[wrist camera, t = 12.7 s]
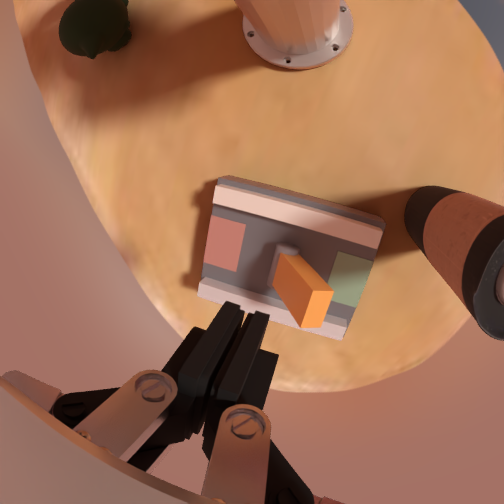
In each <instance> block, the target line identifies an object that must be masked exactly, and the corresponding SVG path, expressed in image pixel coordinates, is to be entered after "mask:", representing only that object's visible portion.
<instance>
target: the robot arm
mask: <svg viewBox="0 0 504 504" xmlns="http://www.w3.org/2000/svg"><path fill="white" fill-rule="evenodd" d="M234 1H235V3H236V4H237V5H238V7H239V8H240V9H241V11H242V12H243V14H244V15H243V21H242V26H243V33H244V36H245V39H246V40H247V42H248V44H249V45H250V47H251V48H252V49H253V50H254V52H255V53H257V54H258V55H259V56H260V57H261V58H263V59H264V60H266V61H268V62H269V63H271V64H274V65H276V66H279V67H283V68H288V69H300V70H301V69H312V68H315V67H319V66H322V65H325V64H327V63H329V62H331V61H333V60H334V59H336V58H337V57H338V56H340V55H341V54H342V52H343V51H344V50H345V49H346V48H347V46H348V44H349V43H350V40H351V37H352V34H353V17H352V14H351V11H350V9H349V7H348V6H347V4H346V2H345V1H344V0H234ZM341 11H344V12H341ZM252 35H254V36H253V37H251V36H252ZM334 48H336V49H337V51H334V50H333V49H334ZM287 61H291V62H290V63H286V62H287ZM240 307H241V306H240V305H238V304H235V303H232V302H229V301H225V303H224V304H223V306H222V307H221V309H220V310H219V312H218V313H217V315H216V316H215V318H214V319H213V321H212V322H211V324H210V325H209V327H208V328H207V330H204V329H201V328H198V327H196V326H195V327H193V328H192V330H191V331H190V332H189V334H188V335H187V336H186V338H185V339H184V340H183V342H182V343H181V345H180V346H179V347H178V349H177V350H176V351H175V353H174V354H173V356H172V357H171V358H170V360H169V361H168V362H167V364H166V365H165V367H164V368H163V369H162V371H158V370H145V371H142V372H139V373H137V374H136V375H134V376H133V377H132V378H131V379H130V380H129V381H127V382H126V383H125V384H124V385H123V386H122V387H119V388H111V389H103V390H94V391H86V392H75V393H69V394H63V393H62V392H61V390H60V389H58V388H55V387H53V386H50V385H48V384H46V383H44V382H41V381H39V380H37V379H35V378H32V377H30V376H28V375H26V374H24V373H22V372H19V371H9V372H6V373H5V374H4V375H3V376H0V504H345V503H342V502H339V501H336V500H333V499H331V498H328V497H325V496H324V497H323V498H321V497H318V496H316V495H313V494H312V492H311V491H310V489H309V488H308V487H307V486H306V484H305V483H304V482H303V481H302V479H301V478H300V477H299V476H298V474H297V473H296V472H295V471H294V469H293V468H292V467H291V465H290V464H289V463H288V461H287V460H286V459H285V458H284V456H283V455H282V454H281V452H280V451H279V450H278V448H277V447H276V446H275V444H274V443H273V442H272V440H271V439H270V437H271V436H270V435H271V422H270V420H269V418H268V416H267V415H266V414H265V413H264V412H263V411H262V410H263V407H264V404H265V400H266V397H267V394H268V391H269V387H270V384H271V381H272V377H273V374H274V371H275V367H276V364H277V360H278V357H279V355H278V354H275V353H271V352H268V351H265V350H262V349H260V346H261V343H262V340H263V337H264V334H265V330H266V327H267V324H268V321H269V317H270V315H269V314H266V313H263V312H260V311H257V310H256V311H255V313H254V314H253V313H250V312H249V313H248V315H247V317H246V319H245V321H244V323H243V325H242V321H243V317H244V313H245V311H244V310H241V309H240ZM241 325H242V327H241ZM204 422H205V424H204ZM203 424H204V429H203V434H202V436H203V437H204V440H203V445H202V449H203V451H204V453H205V455H206V457H207V458H208V460H209V463H208V467H207V471H206V475H205V480H204V484H203V488H202V492H201V495H198V494H195V493H193V492H190V491H187V490H185V489H182V488H180V487H178V486H175V485H172V484H170V483H168V482H166V481H164V480H161V479H159V478H157V477H155V476H152V475H150V474H151V472H152V471H153V470H154V469H155V468H156V467H157V466H158V464H159V463H160V462H161V461H162V460H163V458H164V457H165V456H166V455H167V454H168V452H169V451H170V450H171V448H172V447H173V445H174V443H178V442H182V441H184V440H185V438H186V439H188V440H189V439H190V437H191V435H192V433H195V434H198V433H199V432H200V430H201V428H202V426H203Z"/></svg>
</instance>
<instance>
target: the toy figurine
mask: <svg viewBox="0 0 504 504" xmlns="http://www.w3.org/2000/svg"><path fill="white" fill-rule="evenodd" d="M128 2H129V1H128V0H75V1H74V2H73V3H72V4H71V5H70V6H69V7H68V8H67V9H66V11H65V12H64V14H63V16H62V18H61V21H60V25H59V37H60V41H61V43H62V45H63V46H64V47H65V48H66V49H67V50H68V51H69V52H71V53H73V54H75V55H79V56H87V57H88V58H91V59H94V58H95V57H96V56H97V54H100V53H102V52H105V51H107V50H108V51H111V52H113V51H117V50H119V49H120V48H121V47H123V46H124V45H125V44H126V43H128V41H129V40H130V39H131V31H130V30H129V29H128V28H129V26H130V22H129V20H128V11H127V8H126V7H127V5H128Z"/></svg>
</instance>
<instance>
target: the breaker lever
mask: <svg viewBox="0 0 504 504" xmlns="http://www.w3.org/2000/svg"><path fill="white" fill-rule="evenodd" d="M299 252H300V248H299V247H297V246H295V245H293V244H290V243H285V242H279V243H277V245H276V249H275V253H274V257H273V261H272V265H271V269H270V273H269V277H268V280H267V285H268V286H269V287H270V288H272V289H274V290H276V292H277V293H278V295H279V296H280V298H281V299H282V301H283V302H284V304H285V305H286V307H287V309H288V310H289V312H290V313H291V315H292V316H293V318H294V319H295V321H296V322H297V324H298V325H299V327H300V328H321V325H322V323H323V320H324V318H325V315H326V312H327V310H328V307H329V304H330V302H331V299H332V296H333V293H334V290H333V289H332V288H331V287H330V286H329V285H328V284H327V283H326V282H325V281H324V280H323V279H322V278H321V277H320V276H319V274H318V273H317V272H316V271H315V270H314V269H313V268H312V267H311V266H310V265H309V264H308V263H307V262H306V261H305V260H304V259H303V258H302V257H301V256H300V255H299Z"/></svg>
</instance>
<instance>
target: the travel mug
mask: <svg viewBox="0 0 504 504" xmlns="http://www.w3.org/2000/svg"><path fill="white" fill-rule="evenodd" d="M405 225H406V228H407V231H408V233H409V234H410V236H411V237H412V239H413V240H414V241H415V243H416V244H417V245H418V247H419V248H420V249H421V251H422V252H423V253H424V255H425V256H426V258H427V259H428V260H429V262H430V263H431V264H432V266H433V267H434V268H435V269H436V270H437V272H438V273H439V274H440V275H441V276H442V278H443V279H444V280H445V281H446V282H447V284H448V285H449V286H450V287H451V289H452V290H453V291H454V292H455V294H456V295H457V296H458V297H459V299H460V300H461V301H462V303H463V304H464V305H465V306H466V308H467V309H468V310H469V312H470V313H471V314H472V316H473V317H474V318H475V320H476V321H477V323H478V325H479V327H480V328H481V329H482V330H483V331H484V332H485V333H486V334H488V335H489V336H490V337H492V338H494V339H497V340H503V341H504V207H503V206H501V205H498V204H496V203H493V202H491V201H488V200H486V199H483V198H480V197H478V196H475V195H472V194H469V193H465V192H461V191H457V190H453V189H449V188H444V187H439V186H426V187H423V188H421V189H419V190H418V191H416V192H415V193H414V194H413V195H412V196H411V198H410V199H409V201H408V203H407V206H406V209H405Z"/></svg>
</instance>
